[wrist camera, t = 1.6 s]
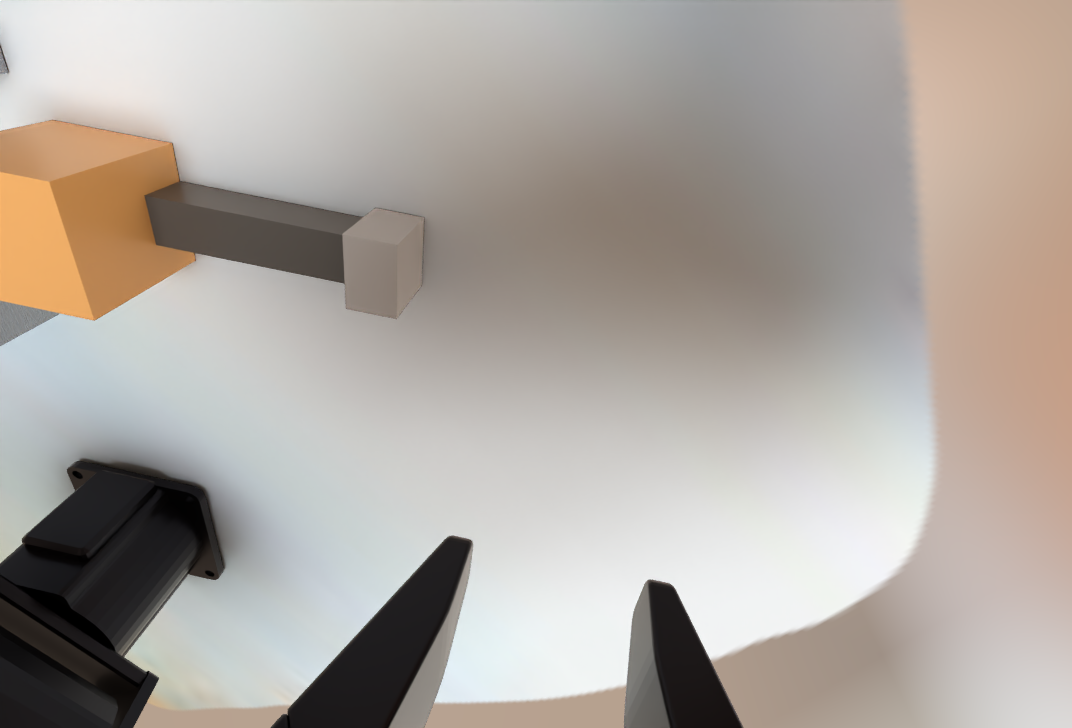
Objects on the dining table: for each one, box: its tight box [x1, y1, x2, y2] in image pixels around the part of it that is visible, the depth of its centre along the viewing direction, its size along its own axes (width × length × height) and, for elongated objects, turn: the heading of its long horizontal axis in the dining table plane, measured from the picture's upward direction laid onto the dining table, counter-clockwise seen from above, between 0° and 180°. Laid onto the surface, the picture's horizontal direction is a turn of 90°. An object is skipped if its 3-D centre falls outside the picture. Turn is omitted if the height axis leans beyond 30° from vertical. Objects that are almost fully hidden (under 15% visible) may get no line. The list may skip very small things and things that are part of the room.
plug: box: [0, 120, 424, 321], centre depth 17 cm, size 12×4×4 cm, turn 82°
